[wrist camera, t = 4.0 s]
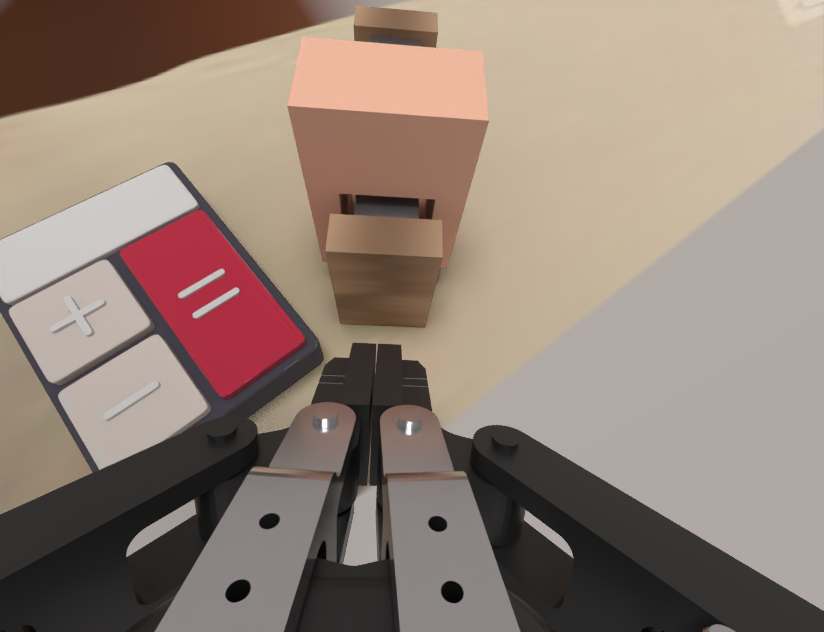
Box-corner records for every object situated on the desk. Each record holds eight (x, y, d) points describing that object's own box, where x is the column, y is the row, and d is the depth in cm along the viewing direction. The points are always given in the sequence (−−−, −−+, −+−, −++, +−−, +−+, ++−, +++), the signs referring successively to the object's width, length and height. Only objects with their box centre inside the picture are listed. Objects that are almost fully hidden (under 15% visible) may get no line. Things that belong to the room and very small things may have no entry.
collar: (323, 262, 23) (287, 105, 14) (330, 207, 25) (302, 36, 16) (446, 268, 24) (488, 120, 15) (445, 214, 26) (482, 52, 16)
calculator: (95, 500, 16) (-49, 245, 20) (147, 498, 20) (19, 286, 24) (321, 339, 20) (166, 148, 23) (328, 364, 24) (194, 197, 27)
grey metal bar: (352, 276, 21) (347, 237, 18) (370, 74, 28) (369, 22, 25) (416, 279, 21) (422, 242, 18) (418, 78, 28) (423, 27, 25)
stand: (340, 323, 24) (325, 251, 17) (361, 113, 32) (356, 5, 25) (425, 327, 24) (442, 257, 17) (424, 117, 32) (437, 13, 25)
